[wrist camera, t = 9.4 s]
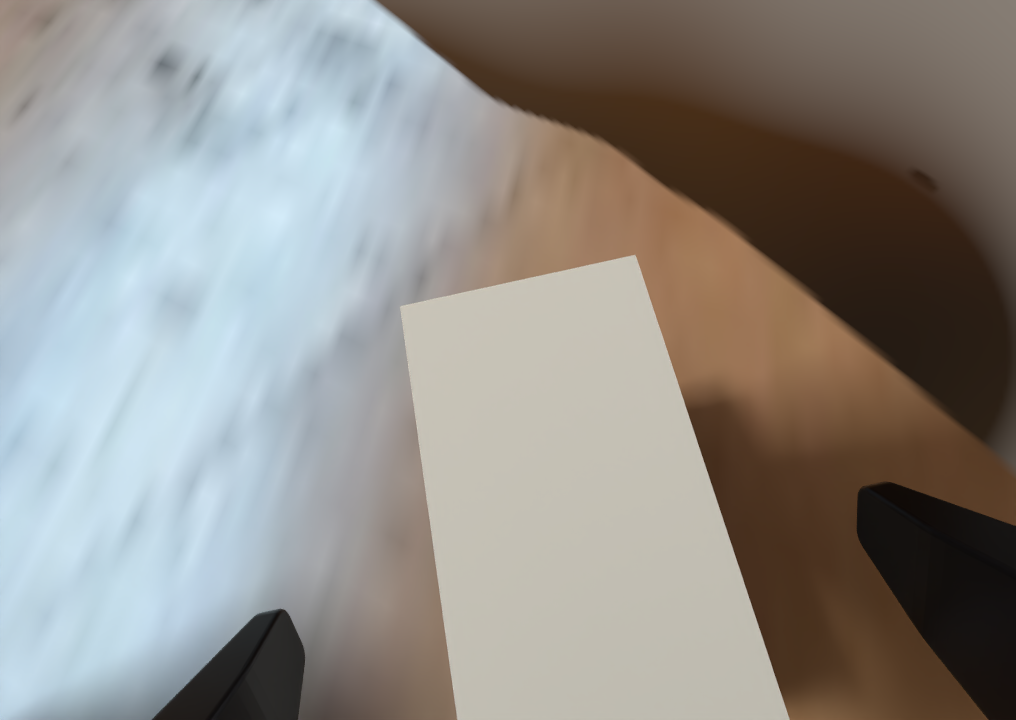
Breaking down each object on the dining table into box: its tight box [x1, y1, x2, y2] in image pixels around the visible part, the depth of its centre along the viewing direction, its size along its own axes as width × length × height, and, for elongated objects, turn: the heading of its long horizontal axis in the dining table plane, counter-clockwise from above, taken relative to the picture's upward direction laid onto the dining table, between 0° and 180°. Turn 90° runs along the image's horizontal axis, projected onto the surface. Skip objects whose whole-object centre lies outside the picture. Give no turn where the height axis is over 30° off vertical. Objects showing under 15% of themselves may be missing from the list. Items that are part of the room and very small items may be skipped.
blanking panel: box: [400, 255, 790, 720], centre depth 11 cm, size 5×2×13 cm, turn 11°
